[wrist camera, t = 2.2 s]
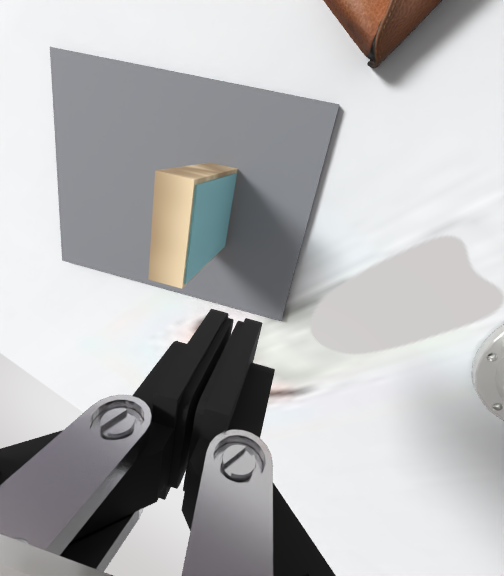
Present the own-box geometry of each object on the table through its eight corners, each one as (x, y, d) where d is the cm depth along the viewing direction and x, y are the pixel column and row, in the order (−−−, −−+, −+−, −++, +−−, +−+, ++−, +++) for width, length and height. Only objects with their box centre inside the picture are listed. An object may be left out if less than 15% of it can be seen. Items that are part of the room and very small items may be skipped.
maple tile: (239, 169, 28) (197, 180, 19) (226, 247, 31) (184, 289, 22) (210, 162, 28) (155, 170, 19) (200, 240, 31) (148, 279, 22)
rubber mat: (339, 105, 25) (339, 104, 25) (282, 318, 33) (281, 321, 33) (55, 48, 28) (50, 47, 27) (66, 258, 36) (62, 260, 35)
